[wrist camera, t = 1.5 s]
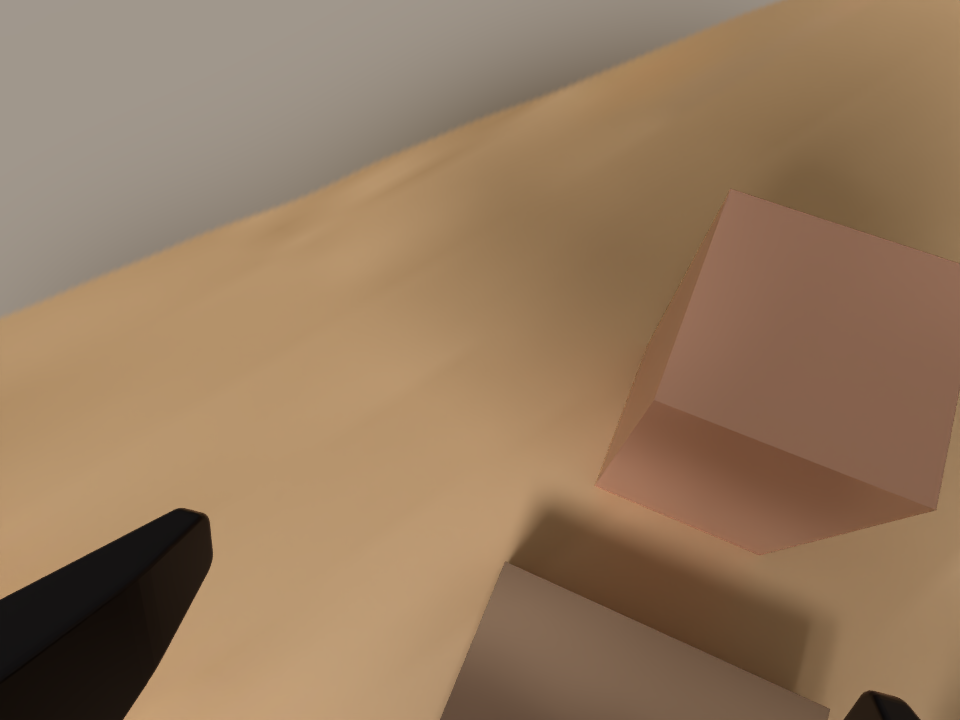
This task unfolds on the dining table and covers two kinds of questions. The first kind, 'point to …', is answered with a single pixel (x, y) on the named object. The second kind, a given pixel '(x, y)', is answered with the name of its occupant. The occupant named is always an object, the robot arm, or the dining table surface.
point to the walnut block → (598, 666)
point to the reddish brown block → (793, 383)
